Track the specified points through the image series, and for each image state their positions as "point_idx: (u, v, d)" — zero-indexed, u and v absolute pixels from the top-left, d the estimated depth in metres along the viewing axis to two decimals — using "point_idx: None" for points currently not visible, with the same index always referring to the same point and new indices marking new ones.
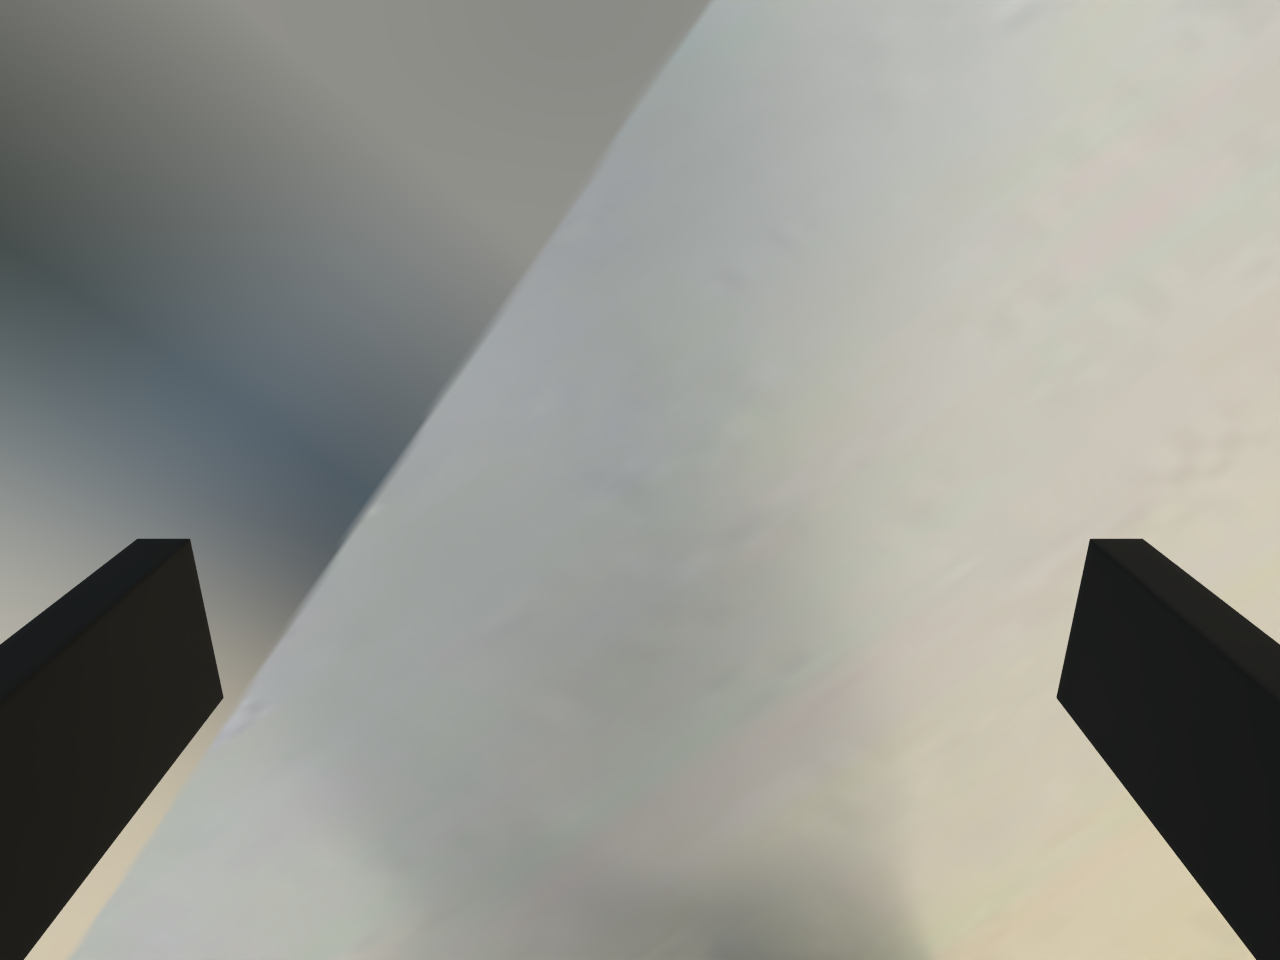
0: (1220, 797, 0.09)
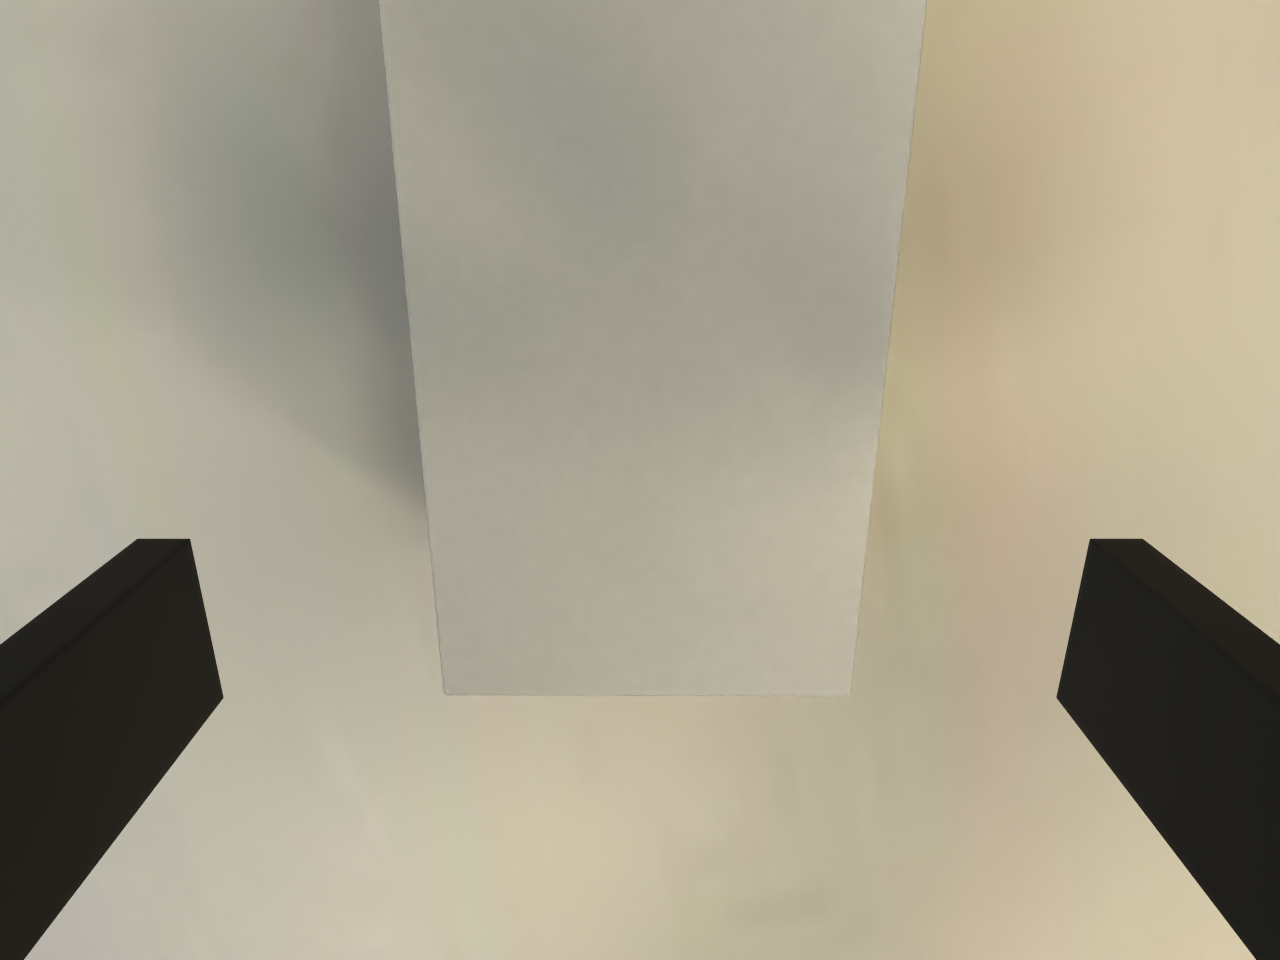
0: (1220, 797, 0.09)
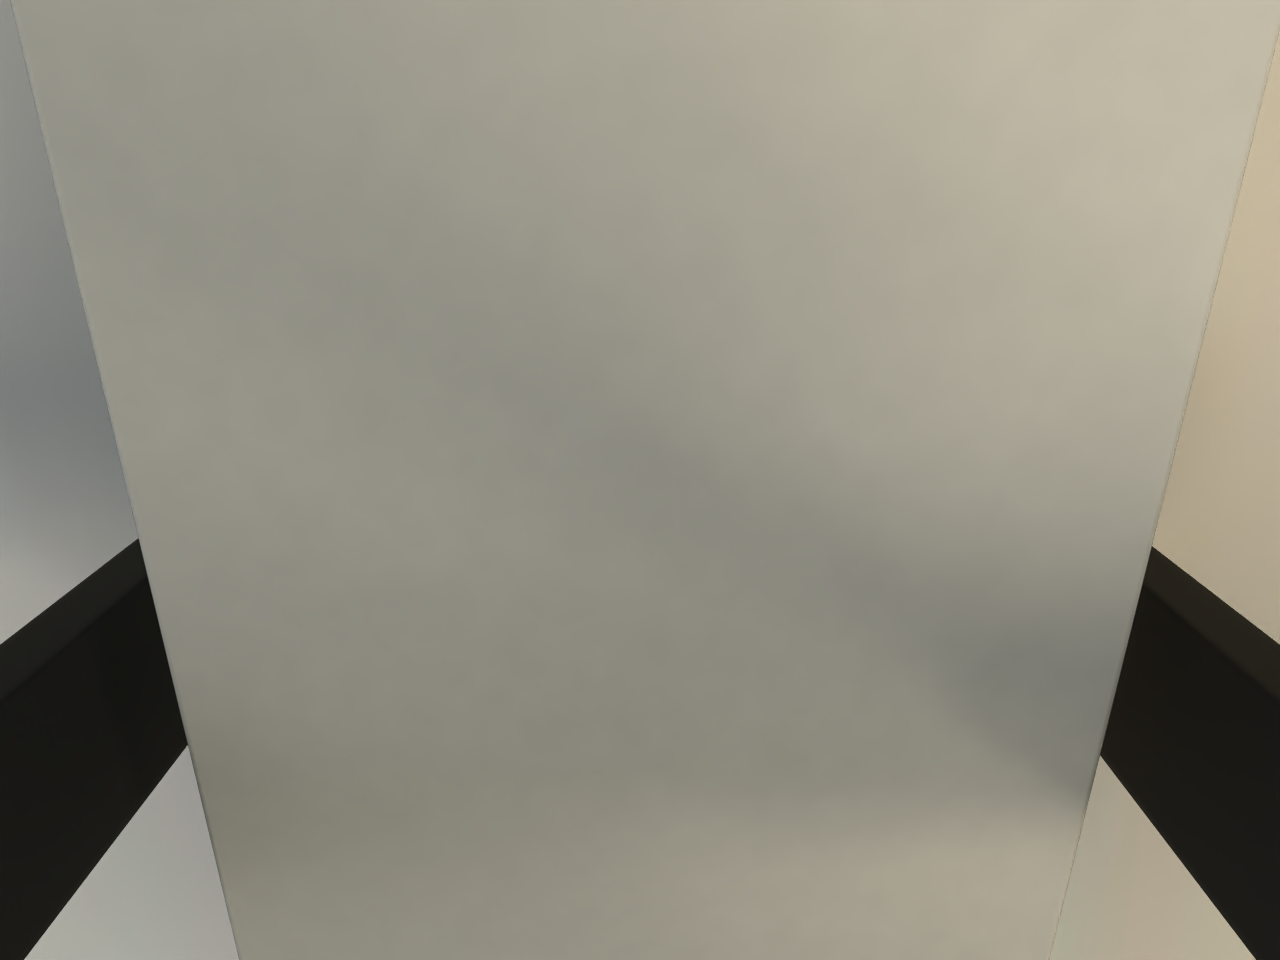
0: (1220, 797, 0.09)
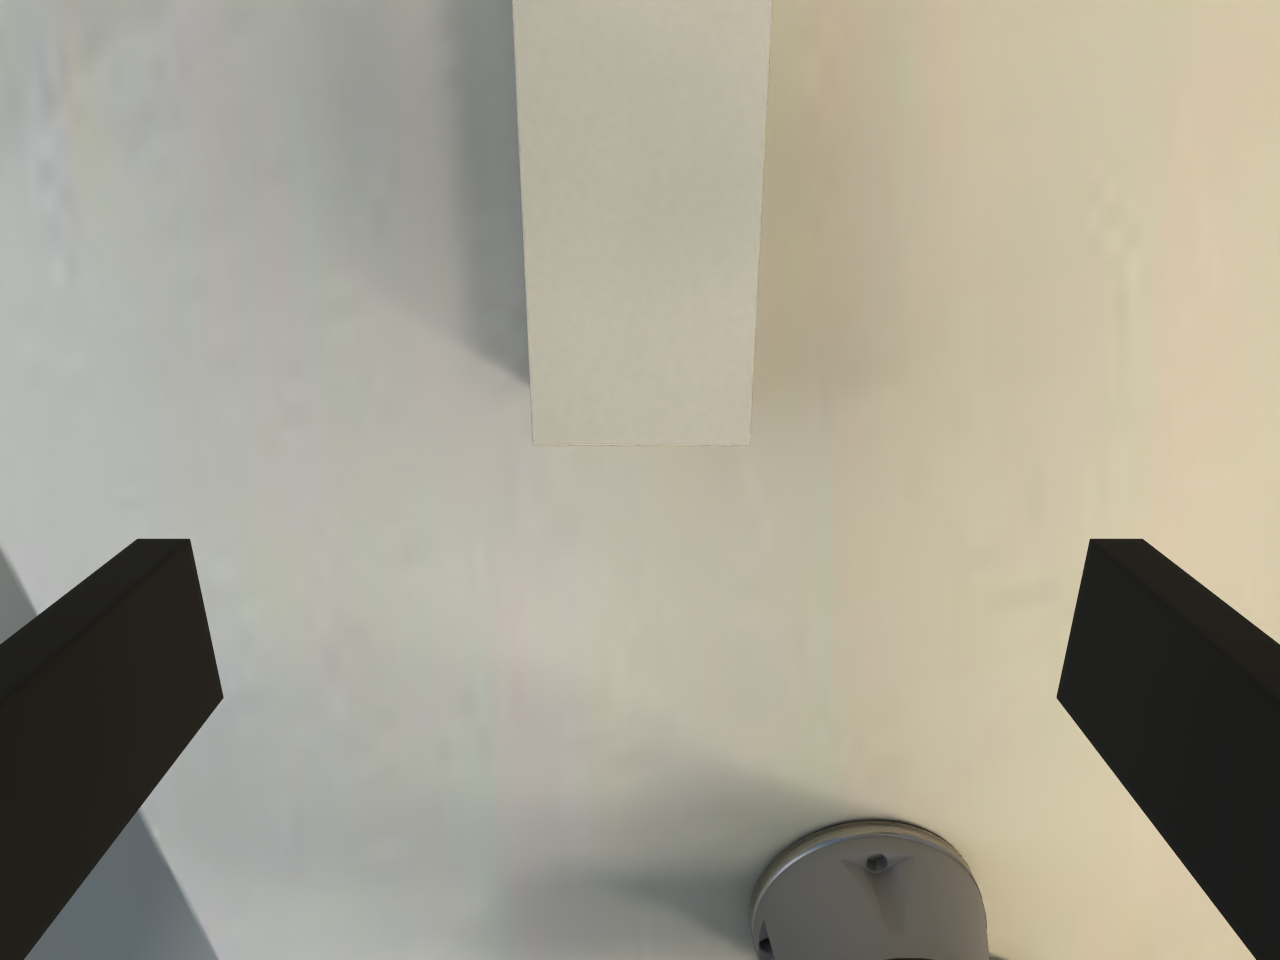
0: (1220, 797, 0.09)
